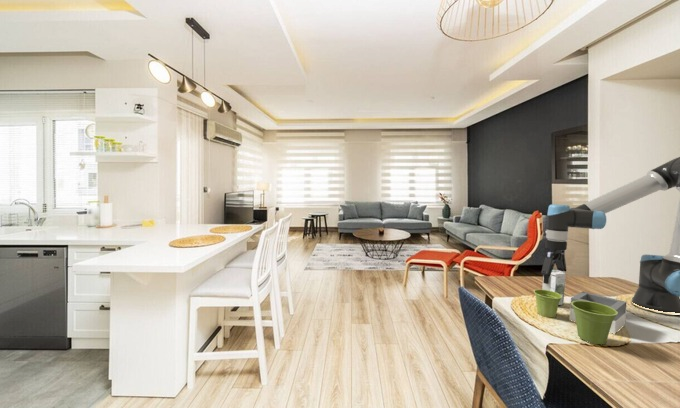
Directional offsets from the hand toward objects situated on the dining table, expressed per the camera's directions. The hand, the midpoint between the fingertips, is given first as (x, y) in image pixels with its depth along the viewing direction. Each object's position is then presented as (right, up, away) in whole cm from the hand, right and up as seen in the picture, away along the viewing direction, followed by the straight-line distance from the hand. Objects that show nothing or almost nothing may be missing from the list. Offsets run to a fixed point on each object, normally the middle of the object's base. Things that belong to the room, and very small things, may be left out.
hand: (552, 287), depth 129 cm
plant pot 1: (-10, -8, -11) cm, 17 cm away
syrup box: (0, -7, 0) cm, 7 cm away
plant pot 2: (-9, -9, -30) cm, 33 cm away
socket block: (+4, -8, -18) cm, 20 cm away
